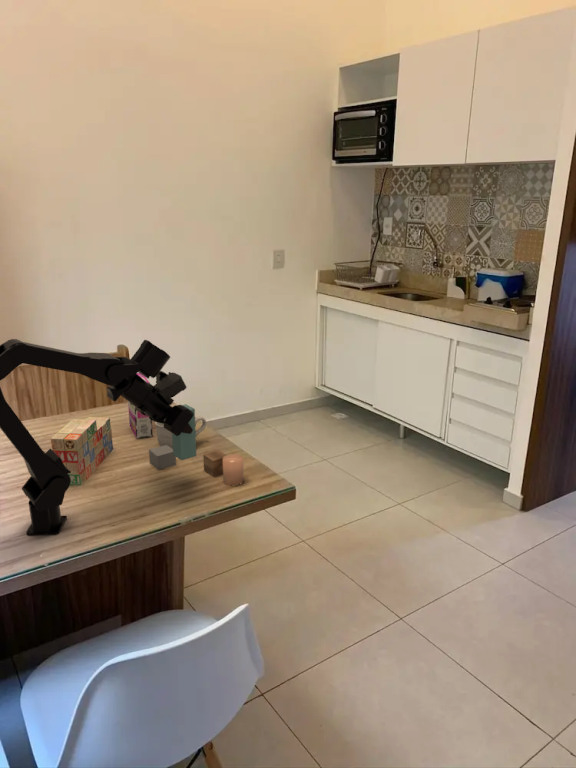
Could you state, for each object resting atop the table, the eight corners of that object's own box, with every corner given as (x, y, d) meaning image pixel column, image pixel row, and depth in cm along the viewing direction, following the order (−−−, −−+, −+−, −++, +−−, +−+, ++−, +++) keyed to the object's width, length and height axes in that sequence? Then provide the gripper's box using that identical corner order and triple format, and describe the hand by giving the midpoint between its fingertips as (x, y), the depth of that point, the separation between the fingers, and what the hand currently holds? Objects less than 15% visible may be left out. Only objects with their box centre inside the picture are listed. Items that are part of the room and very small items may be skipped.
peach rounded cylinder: (243, 485, 139) (243, 463, 137) (222, 486, 138) (222, 463, 136) (243, 476, 143) (243, 454, 142) (223, 476, 143) (222, 454, 141)
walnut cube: (213, 477, 143) (212, 460, 141) (203, 470, 146) (203, 454, 145) (228, 472, 145) (228, 456, 144) (219, 466, 149) (218, 450, 147)
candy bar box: (154, 436, 166) (150, 382, 161) (136, 439, 164) (132, 384, 159) (145, 423, 176) (142, 371, 170) (129, 426, 174) (125, 373, 168)
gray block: (158, 470, 146) (157, 456, 145) (149, 463, 150) (148, 449, 149) (176, 465, 149) (175, 451, 148) (167, 458, 153) (166, 444, 152)
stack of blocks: (91, 448, 158) (86, 406, 155) (113, 449, 158) (109, 406, 154) (55, 485, 138) (50, 437, 134) (81, 486, 138) (76, 438, 134)
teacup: (157, 456, 154) (156, 428, 151) (155, 440, 163) (153, 414, 161) (210, 451, 157) (209, 423, 155) (204, 436, 167) (204, 410, 165)
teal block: (181, 460, 136) (179, 412, 132) (173, 454, 139) (170, 407, 135) (196, 456, 138) (194, 408, 134) (187, 450, 141) (185, 404, 137)
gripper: (183, 374, 122) (228, 412, 132) (144, 355, 135) (187, 391, 145) (151, 417, 119) (199, 453, 129) (114, 394, 133) (160, 427, 143)
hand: (186, 429), depth 137 cm, fingers closed on teal block, 4 cm apart
